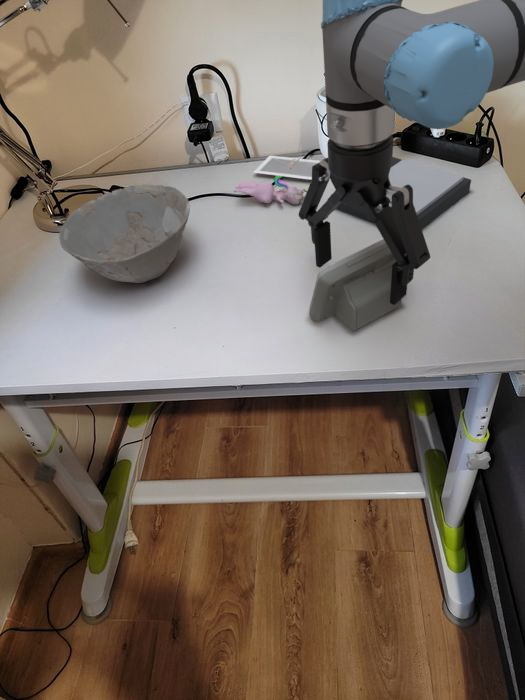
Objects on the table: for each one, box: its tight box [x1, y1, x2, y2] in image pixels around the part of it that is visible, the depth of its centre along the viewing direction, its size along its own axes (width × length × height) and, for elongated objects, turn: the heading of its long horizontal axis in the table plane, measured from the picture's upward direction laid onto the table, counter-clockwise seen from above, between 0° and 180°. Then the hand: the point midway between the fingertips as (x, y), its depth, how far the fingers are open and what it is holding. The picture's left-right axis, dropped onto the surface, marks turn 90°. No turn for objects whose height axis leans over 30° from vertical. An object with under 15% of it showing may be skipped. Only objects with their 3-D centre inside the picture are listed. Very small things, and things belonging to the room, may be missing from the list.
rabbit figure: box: [233, 175, 308, 206], centre depth 99 cm, size 6×6×15 cm
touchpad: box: [252, 155, 321, 181], centre depth 108 cm, size 8×15×2 cm, turn 62°
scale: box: [335, 156, 472, 230], centre depth 94 cm, size 18×18×3 cm
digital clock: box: [308, 239, 406, 332], centre depth 73 cm, size 16×9×11 cm, turn 109°
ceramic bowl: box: [58, 184, 191, 284], centre depth 88 cm, size 22×23×10 cm
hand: (359, 280), depth 74 cm, fingers open, 13 cm apart
